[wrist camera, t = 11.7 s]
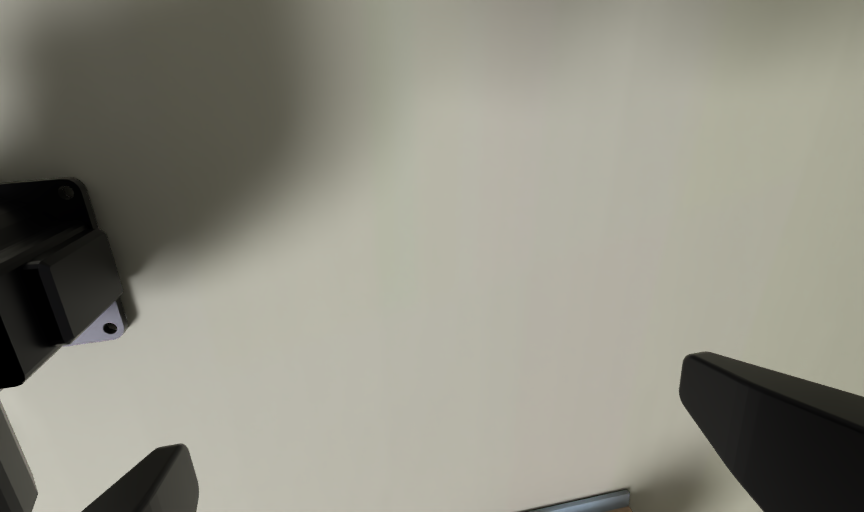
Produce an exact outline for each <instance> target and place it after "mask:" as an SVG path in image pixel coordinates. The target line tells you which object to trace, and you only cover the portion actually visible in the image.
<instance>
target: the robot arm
mask: <svg viewBox="0 0 864 512" xmlns="http://www.w3.org/2000/svg"><path fill="white" fill-rule="evenodd" d="M65 186H69V187H70V188H72V190H73V191H74V196H73V197H69V196H67V195H66V194H65V192H64V187H65ZM122 293H123V288H122V285H121V281H120V278H119V275H118V271H117V268H116V265H115V262H114V258H113V255H112V252H111V248H110V245H109V242H108V239H107V235H106V233H104V232H103V231H102V230H100V229H99V228H98V225H97V221H96V218H95V215H94V212H93V209H92V205H91V202H90V199H89V196H88V192H87V189H86V187H85V185H84V184H83V183H82V182H81V181H80V180H78V179H75V178H72V177H62V178H51V179H40V180H28V181H17V182H5V183H0V391H1V390H2V389H3V388H9V387H16V386H19V385H22V384H23V383H24V382H25V381H26V380H27V379H28V378H29V377H30V376H31V375H32V374H33V373H35V372H36V371H37V370H38V369H39V368H40V367H41V366H42V365H43V364H44V363H45V362H46V361H47V360H48V359H49V358H50V357H51V356H53V355H54V354H55V353H56V352H57V351H58V350H59V349H60V348H61V347H64V346H71V345H78V344H86V343H93V342H100V341H107V340H114V339H117V338H119V337H120V336H122V335H123V333H124V332H125V331H126V330H127V327H128V322H127V319H126V315H125V312H124V309H123V306H122V302H121V299H120V295H121V294H122ZM107 323H113V324H115V325H116V327H117V330H114V329H111V328H109V327H108V325H107ZM679 396H680V399H681V401H682V404H683V405H684V407H685V408H686V410H687V411H688V412H689V414H690V415H691V417H692V418H693V420H694V421H695V422H696V424H697V425H698V427H699V428H700V429H701V431H702V432H703V434H704V435H705V437H706V438H707V439H708V441H709V442H710V444H711V445H712V446H713V448H714V449H715V451H716V452H717V454H718V455H719V456H720V458H721V459H722V461H723V462H724V463H725V465H726V466H727V467H728V469H729V470H730V472H731V473H732V474H733V475H734V477H735V478H736V479H737V480H738V482H739V483H740V484H741V485H742V487H743V488H744V489H745V490H746V491H747V492H748V494H749V495H750V496H751V497H752V498H753V500H754V501H755V502H756V503H757V504H758V506H759V507H760V508H761V509H762V510H763V511H764V512H864V397H863V396H859V395H856V394H852V393H849V392H845V391H842V390H838V389H835V388H832V387H828V386H825V385H821V384H818V383H814V382H811V381H808V380H804V379H801V378H797V377H794V376H790V375H787V374H783V373H780V372H777V371H773V370H770V369H766V368H763V367H759V366H756V365H753V364H749V363H746V362H742V361H739V360H735V359H732V358H729V357H725V356H722V355H718V354H715V353H711V352H699V353H694V354H689V355H687V356H686V357H685V358H684V360H683V364H682V371H681V379H680V386H679ZM37 495H38V492H37V488H36V485H35V481H34V478H33V474H32V472H31V470H30V467H29V465H28V463H27V460H26V458H25V456H24V454H23V451H22V449H21V447H20V444H19V442H18V440H17V438H16V435H15V433H14V431H13V428H12V426H11V424H10V421H9V419H8V417H7V415H6V412H5V410H4V408H3V405H2V403H1V401H0V512H32V509H33V506H34V504H35V501H36V498H37ZM198 498H199V486H198V481H197V477H196V474H195V470H194V467H193V463H192V460H191V456H190V453H189V450H188V448H187V447H186V445H184V444H175V445H169V446H163V447H159V448H156V449H155V450H154V451H152V452H151V453H150V454H149V455H148V456H146V457H145V458H144V459H143V460H142V461H140V462H139V463H138V464H137V465H136V466H135V467H133V468H132V469H131V470H130V471H129V472H127V473H126V474H125V475H124V476H123V477H122V478H120V479H119V480H118V481H117V482H116V483H115V484H113V485H112V486H111V487H110V488H109V489H107V490H106V491H105V492H104V493H103V494H102V495H100V496H99V497H98V498H97V499H96V500H94V501H93V502H92V503H91V504H90V505H89V506H87V507H86V508H85V509H84V510H83V511H82V512H196V510H197V504H198Z"/></svg>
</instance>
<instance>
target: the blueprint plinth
mask: <svg viewBox="0 0 864 512" xmlns="http://www.w3.org/2000/svg"><path fill="white" fill-rule="evenodd" d="M629 497H630V493H629V491H628V490H622V491H618V492H613V493H609V494H604V495H600V496H596V497H591V498H587V499H582V500H578V501H573V502H569V503H564V504H560V505H555V506H551V507H547V508H542V509H538V510H533V511H529V512H632V510H631V509H630V507H629Z"/></svg>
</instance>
